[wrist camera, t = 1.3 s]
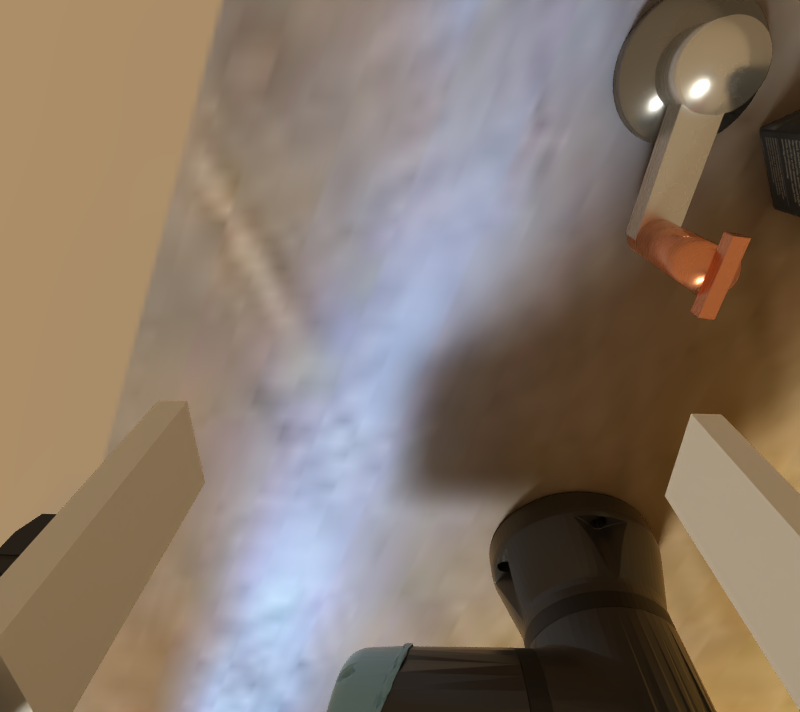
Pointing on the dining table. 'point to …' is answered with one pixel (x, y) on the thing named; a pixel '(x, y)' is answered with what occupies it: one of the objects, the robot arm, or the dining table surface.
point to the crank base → (643, 47)
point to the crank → (696, 151)
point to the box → (783, 161)
